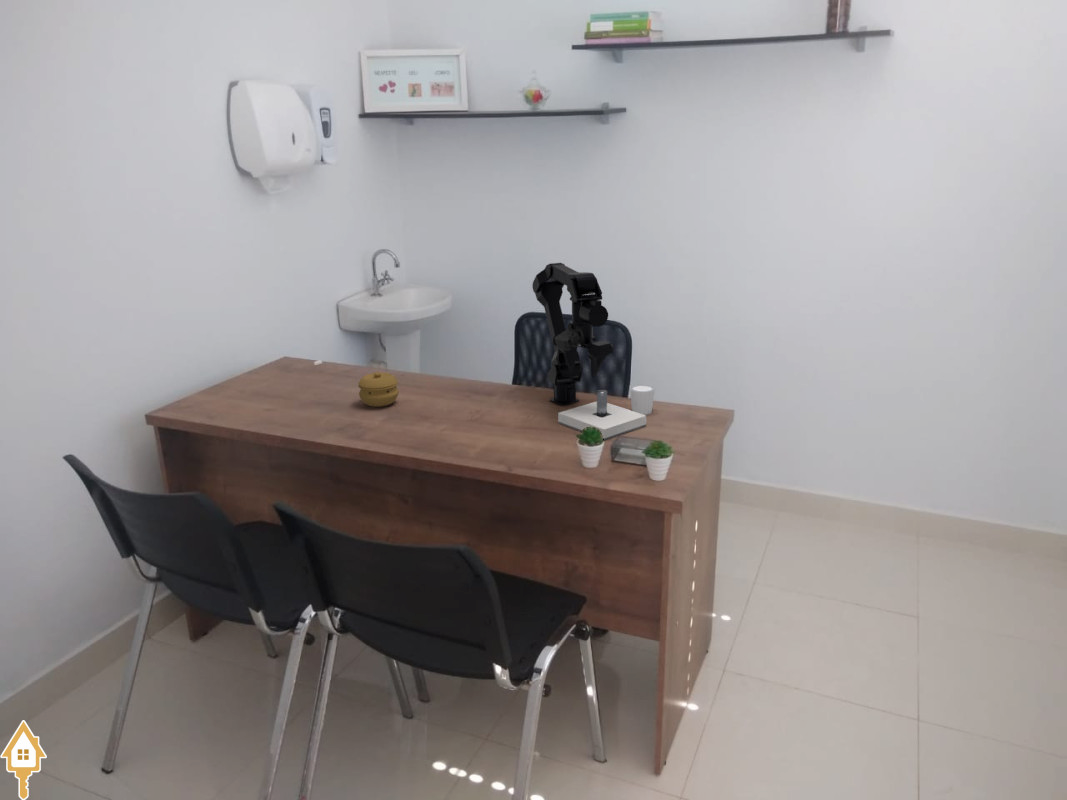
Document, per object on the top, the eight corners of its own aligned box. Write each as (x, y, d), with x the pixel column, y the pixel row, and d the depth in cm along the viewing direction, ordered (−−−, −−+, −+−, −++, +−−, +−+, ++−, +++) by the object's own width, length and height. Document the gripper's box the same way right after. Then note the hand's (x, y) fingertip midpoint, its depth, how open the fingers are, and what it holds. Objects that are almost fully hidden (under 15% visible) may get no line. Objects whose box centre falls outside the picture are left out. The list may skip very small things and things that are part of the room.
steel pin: (594, 422, 227) (594, 391, 224) (601, 420, 228) (602, 389, 226) (601, 425, 225) (601, 393, 222) (608, 422, 226) (609, 391, 224)
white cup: (648, 417, 232) (648, 393, 230) (625, 413, 235) (626, 389, 233) (657, 410, 237) (658, 386, 235) (635, 406, 241) (636, 383, 239)
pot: (352, 408, 244) (349, 376, 241) (372, 396, 254) (369, 365, 251) (387, 412, 240) (385, 379, 237) (406, 400, 251) (404, 368, 248)
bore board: (558, 423, 228) (558, 412, 227) (599, 410, 238) (599, 400, 237) (604, 440, 215) (604, 429, 214) (646, 425, 225) (646, 415, 224)
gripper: (537, 318, 228) (538, 372, 233) (584, 329, 215) (584, 386, 220) (567, 312, 235) (568, 365, 240) (614, 322, 222) (613, 378, 226)
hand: (582, 373), depth 231 cm, fingers open, 9 cm apart
